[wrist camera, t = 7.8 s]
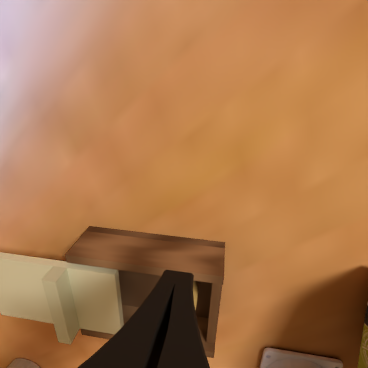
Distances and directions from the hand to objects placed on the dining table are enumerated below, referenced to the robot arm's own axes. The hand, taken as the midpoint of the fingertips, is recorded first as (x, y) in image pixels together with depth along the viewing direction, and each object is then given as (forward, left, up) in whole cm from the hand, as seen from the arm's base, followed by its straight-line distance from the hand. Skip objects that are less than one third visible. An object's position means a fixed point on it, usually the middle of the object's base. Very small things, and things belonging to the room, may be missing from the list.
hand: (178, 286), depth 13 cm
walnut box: (-10, +4, -10) cm, 15 cm away
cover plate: (-10, +13, -7) cm, 17 cm away
